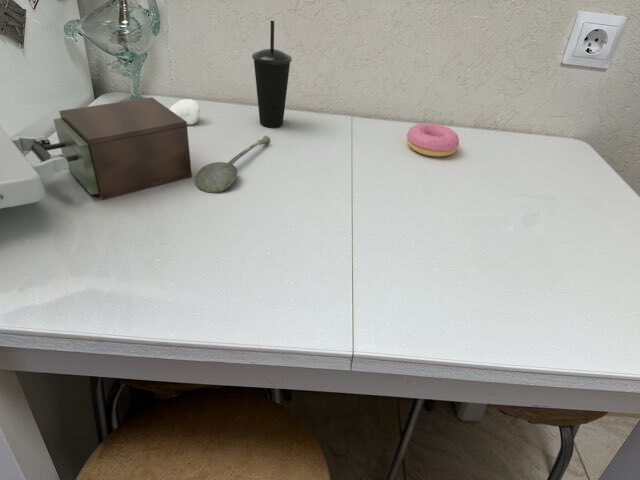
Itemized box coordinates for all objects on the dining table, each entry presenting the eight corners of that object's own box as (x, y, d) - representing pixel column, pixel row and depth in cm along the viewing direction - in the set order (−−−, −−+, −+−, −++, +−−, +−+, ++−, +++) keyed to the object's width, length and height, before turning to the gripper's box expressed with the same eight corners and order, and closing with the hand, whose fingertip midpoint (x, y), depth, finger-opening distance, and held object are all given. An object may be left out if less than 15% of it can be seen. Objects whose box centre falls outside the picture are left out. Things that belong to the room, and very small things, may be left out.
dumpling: (207, 121, 102) (206, 105, 99) (191, 133, 99) (190, 117, 96) (179, 107, 103) (177, 91, 100) (162, 119, 100) (160, 102, 97)
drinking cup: (246, 125, 102) (244, 20, 90) (263, 114, 108) (263, 14, 96) (279, 133, 100) (281, 28, 89) (295, 121, 106) (299, 21, 94)
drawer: (59, 203, 70) (44, 152, 66) (35, 172, 76) (20, 124, 72) (176, 173, 81) (171, 128, 76) (147, 149, 87) (141, 105, 82)
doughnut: (404, 155, 98) (408, 135, 96) (405, 134, 107) (408, 116, 105) (458, 163, 98) (463, 143, 96) (454, 141, 107) (459, 123, 105)
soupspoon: (187, 190, 80) (223, 201, 79) (185, 171, 78) (222, 183, 77) (252, 139, 96) (282, 148, 95) (252, 123, 94) (283, 132, 93)
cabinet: (102, 199, 74) (88, 139, 68) (73, 168, 80) (58, 110, 75) (192, 176, 82) (186, 121, 77) (159, 149, 89) (152, 97, 83)
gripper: (-50, 185, 56) (78, 158, 64) (-83, 123, 67) (29, 107, 75) (-30, 231, 60) (88, 200, 68) (-65, 165, 71) (40, 146, 79)
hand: (57, 151), depth 72 cm, fingers closed on drawer, 6 cm apart
